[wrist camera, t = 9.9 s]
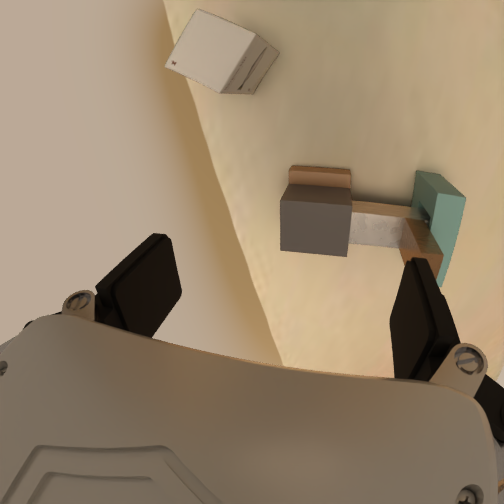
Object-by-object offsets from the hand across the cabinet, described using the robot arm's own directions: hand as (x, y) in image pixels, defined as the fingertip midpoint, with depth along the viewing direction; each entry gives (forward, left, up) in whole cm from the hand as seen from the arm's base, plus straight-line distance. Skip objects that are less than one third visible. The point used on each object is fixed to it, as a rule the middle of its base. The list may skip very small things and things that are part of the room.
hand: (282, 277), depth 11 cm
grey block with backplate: (+8, 0, -30) cm, 31 cm away
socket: (+8, +15, -30) cm, 35 cm away
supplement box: (-12, -10, -31) cm, 34 cm away
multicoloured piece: (+8, +9, -26) cm, 29 cm away
